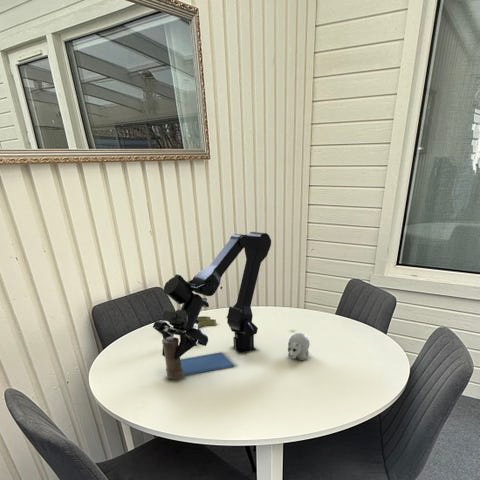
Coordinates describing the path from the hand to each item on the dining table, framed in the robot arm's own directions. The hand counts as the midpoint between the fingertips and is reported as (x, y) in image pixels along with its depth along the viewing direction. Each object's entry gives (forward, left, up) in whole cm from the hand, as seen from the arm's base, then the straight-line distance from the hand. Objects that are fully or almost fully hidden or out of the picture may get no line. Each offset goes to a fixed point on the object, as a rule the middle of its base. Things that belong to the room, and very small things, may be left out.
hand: (169, 357), depth 126 cm
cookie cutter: (-21, -46, -8) cm, 51 cm away
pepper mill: (-1, -1, -7) cm, 7 cm away
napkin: (-13, -7, -7) cm, 17 cm away
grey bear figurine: (-42, +3, -8) cm, 43 cm away
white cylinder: (-14, -30, -8) cm, 34 cm away
